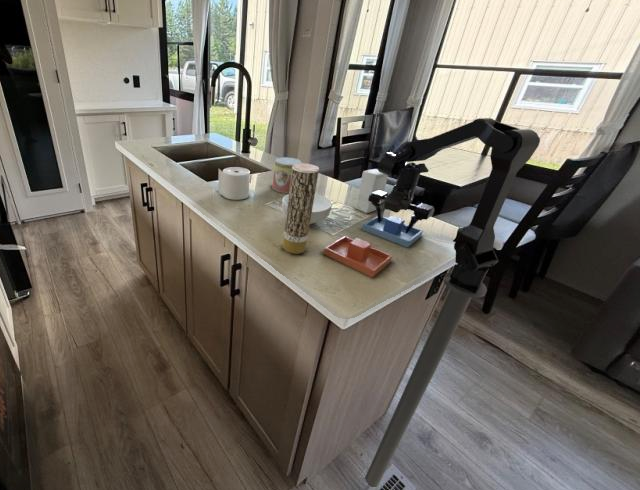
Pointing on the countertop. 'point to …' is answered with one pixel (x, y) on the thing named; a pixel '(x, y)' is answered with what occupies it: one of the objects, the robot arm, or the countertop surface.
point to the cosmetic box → (370, 189)
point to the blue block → (393, 225)
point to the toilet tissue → (234, 183)
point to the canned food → (283, 173)
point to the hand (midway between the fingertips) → (392, 227)
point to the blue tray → (401, 238)
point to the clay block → (358, 249)
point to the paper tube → (300, 207)
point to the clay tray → (367, 266)
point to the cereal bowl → (314, 208)
